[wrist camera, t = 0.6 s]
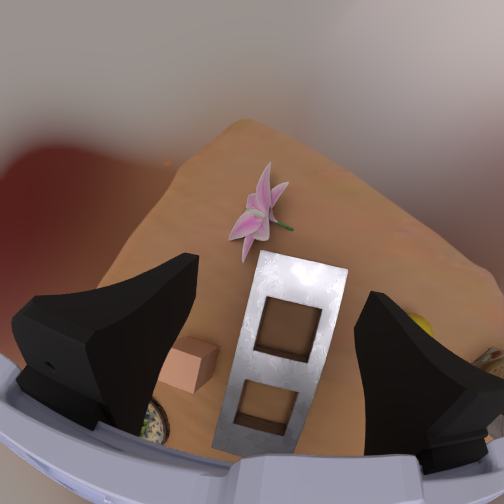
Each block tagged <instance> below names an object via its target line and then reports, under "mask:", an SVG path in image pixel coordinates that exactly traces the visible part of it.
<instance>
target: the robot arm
mask: <svg viewBox="0 0 504 504" xmlns="http://www.w3.org/2000/svg"><path fill="white" fill-rule="evenodd" d="M198 264H199V255H194V254H190V253H183V254H180V255H178V256H177V257H175V258H173V259H171V260H169V261H167V262H165V263H163V264H161V265H159V266H157V267H155V268H153V269H151V270H149V271H147V272H144V273H142V274H140V275H138V276H136V277H133V278H131V279H128V280H125V281H122V282H119V283H116V284H113V285H110V286H106V287H102V288H98V289H94V290H90V291H84V292H78V293H71V294H62V295H42V296H34V297H33V298H32V299H31V300H30V301H29V302H28V303H27V304H26V305H25V306H24V307H23V308H22V309H21V310H20V311H18V312H17V313H16V315H14V316H13V318H12V322H11V324H12V332H13V335H14V338H15V340H16V342H17V345H18V347H19V349H20V351H21V353H22V355H23V358H24V359H25V362H26V364H27V366H26V367H25V368H24V369H23V371H22V370H21V369H20V368H19V367H18V365H17V364H15V363H14V362H13V361H11V360H10V359H8V358H7V357H5V356H4V355H3V354H1V353H0V441H1V442H2V443H4V444H5V445H6V446H7V447H8V448H10V449H11V450H12V451H13V452H15V453H16V454H17V455H19V456H20V457H21V458H22V459H24V460H25V461H26V462H28V463H29V464H30V465H32V466H33V467H35V468H36V469H38V470H39V471H40V472H42V473H43V474H45V475H46V476H48V477H49V478H51V479H52V480H54V481H56V482H57V483H59V484H60V485H62V486H64V487H65V488H67V489H69V490H70V491H72V492H74V493H76V494H77V495H79V496H81V497H83V498H85V499H87V500H89V501H90V502H93V503H95V504H487V503H488V502H490V501H492V500H493V499H495V498H497V497H498V496H500V495H502V494H503V493H504V436H503V437H500V438H497V439H494V440H492V441H490V442H488V443H485V440H484V438H485V437H487V436H488V431H487V428H486V427H488V426H489V425H490V424H491V423H492V422H493V421H494V420H495V419H496V418H497V417H498V416H499V415H500V414H501V413H502V412H503V411H504V379H503V378H500V377H498V376H495V375H493V374H490V373H488V372H486V371H484V370H482V369H480V368H478V367H476V366H474V365H472V364H470V363H468V362H467V361H465V360H463V359H462V358H460V357H459V356H457V355H455V354H454V353H452V352H451V351H450V350H448V349H447V348H445V347H444V346H443V345H441V344H440V343H439V342H438V341H436V340H435V339H434V338H433V337H431V336H430V335H429V334H428V333H427V332H426V331H425V330H423V329H422V328H421V327H420V326H419V325H418V324H417V323H416V322H415V321H414V320H413V319H412V318H411V317H409V316H408V315H407V314H406V313H405V312H404V311H403V310H402V309H401V308H400V307H399V306H398V305H397V304H396V303H395V302H394V301H393V300H391V299H390V298H389V297H388V296H387V295H385V294H384V293H380V292H374V291H371V292H370V294H369V296H368V299H367V301H366V303H365V305H364V308H363V310H362V312H361V314H360V316H359V319H358V321H357V323H356V325H355V327H354V339H355V349H356V354H357V359H358V364H359V369H360V374H361V379H362V384H363V389H364V396H365V414H366V431H365V449H364V456H321V455H304V454H275V453H266V454H260V455H254V456H247V457H245V458H243V459H241V460H240V461H238V462H237V463H232V462H227V461H222V460H217V459H212V458H208V457H204V456H199V455H195V454H191V453H188V452H184V451H180V450H177V449H173V448H170V447H167V446H164V445H160V444H157V443H154V442H151V441H148V440H145V439H143V438H140V433H141V429H142V426H143V422H144V419H145V415H146V412H147V409H148V406H149V403H150V400H151V397H152V394H153V391H154V388H155V385H156V382H157V380H158V377H159V374H160V372H161V369H162V366H163V364H164V362H165V360H166V357H167V355H168V353H169V351H170V350H171V348H172V346H173V344H174V342H175V340H176V338H177V337H178V335H179V333H180V331H181V329H182V327H183V326H184V324H185V322H186V320H187V318H188V316H189V313H190V311H191V308H192V306H193V303H194V300H195V297H196V287H197V275H198Z"/></svg>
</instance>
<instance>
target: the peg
mask: <svg viewBox="0 0 504 504" xmlns="http://www.w3.org/2000/svg"><path fill="white" fill-rule="evenodd" d="M218 349H219V346H216V345H213V344H210V343H207V342H204V341H201V340H197V339H194V338H191V337H188V336H187V337H185V338H182V339H179V340H177V341H175V342H174V344H173V346H172V348H171V350H170V351H169V353H168V355H167V357H166V360H165V362H164V364H163V366H162V369H161V372H160V374H159V378H158V380H159V381H162V382H164V383H166V384H169V385H171V386H174V387H177V388H179V389H182V390H184V391H187V392H190V393H193V394H194V393H195V392H196V391H197V390H198V389H199V388H200V387H201V386H203V385H204V384H205V383H206V382H207V381H208V380H209V379H210V378H211V377H212V374H213V370H214V365H215V361H216V357H217V353H218Z"/></svg>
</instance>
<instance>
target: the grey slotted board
mask: <svg viewBox="0 0 504 504" xmlns="http://www.w3.org/2000/svg"><path fill="white" fill-rule="evenodd" d="M347 273H348V270H347V269H342V268H338V267H334V266H329V265H325V264H321V263H316V262H312V261H307V260H303V259H299V258H294V257H290V256H286V255H281V254H277V253H272V252H268V251H263V250H261V251H260V256H259V260H258V264H257V268H256V272H255V276H254V280H253V284H252V288H251V292H250V296H249V300H248V305H247V309H246V313H245V317H244V321H243V325H242V329H241V333H240V337H239V341H238V345H237V349H236V353H235V357H234V361H233V365H232V369H231V373H230V376H229V380H228V384H227V388H226V392H225V396H224V400H223V404H222V408H221V412H220V416H219V420H218V423H217V427H216V431H215V435H214V439H213V443H212V448H215V449H218V450H221V451H224V452H227V453H231V454H234V455H238V456H241V457H247V456H254V455H260V454H266V453H275V454H293V451H294V449H295V446H296V444H297V441H298V439H299V436H300V434H301V431H302V428H303V426H304V423H305V420H306V417H307V415H308V412H309V409H310V406H311V403H312V400H313V397H314V394H315V391H316V388H317V385H318V382H319V379H320V376H321V372H322V369H323V366H324V363H325V359H326V356H327V352H328V349H329V345H330V342H331V338H332V335H333V331H334V327H335V323H336V319H337V315H338V311H339V307H340V303H341V299H342V295H343V291H344V286H345V282H346V277H347ZM269 296H270V297H274V298H278V299H282V300H286V301H291V302H295V303H299V304H303V305H308V306H312V307H316V308H320V310H319V314H318V318H317V322H316V325H315V329H314V333H313V337H312V340H311V344H310V348H309V351H308V355H307V357H306V356H301V355H297V354H293V353H289V352H284V351H280V350H276V349H272V348H268V347H264V346H260V345H257V342H258V338H259V334H260V330H261V326H262V322H263V319H264V315H265V311H266V307H267V303H268V299H269ZM247 380H252V381H255V382H259V383H263V384H267V385H271V386H275V387H279V388H283V389H287V390H292V391H296V394H295V397H294V400H293V403H292V406H291V409H290V412H289V415H288V418H287V421H286V424H281V423H277V422H272V421H268V420H264V419H260V418H256V417H253V416H249V415H245V414H242V413H238V412H239V409H240V405H241V402H242V398H243V394H244V391H245V387H246V383H247Z"/></svg>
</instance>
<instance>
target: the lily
mask: <svg viewBox="0 0 504 504" xmlns="http://www.w3.org/2000/svg"><path fill="white" fill-rule="evenodd" d="M270 167H271V162H270V163H269V164H268V165H267V167H266V168H265V170H264V172H263V173H262V175H261V177H260V179H259V181H258V184H257V187H256V193H253V194H250V195H249V197H248V199H247V205H246V208H245V210H247V212H245V213H244V214H243V215H241V217H240V218H239V219H238V220H237V222H236V224H235V225H234V227H233V229H232V231H231V233H230V236H229V241H230V240H234V239H238V238H242V237H245V236H246V237H245V239H244V243H243V250H242V263H243V262H244V260H245V258H246V256H247V253H248V251H249V249H250V247H251V245H252V243H253V241H254V239H257V240H261V241H266V240H268V239H269V235H270V234H269V224H270V223H271V222H275V223H277V224H279V225H282V226H284V227H286V228H288V229H290V230H292V231H293V230H294V229H293V228H291V227H289V226H287V225H285V224H283V223H281V222H279V221H277V220H276V219H275V218H274V215H273V211H272V207H273V206H274V204H275V203H276V201H277V200H278V198H279V197H280V195H281V194H282V193H283V191H284V190H285V188H286V187H287V185H288V184H289V182H284V183H282V184H279V185H277V186H276V187H274V188H273V189H272V190H271V192H270V183H269V176H270ZM245 210H242V211H245Z"/></svg>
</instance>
